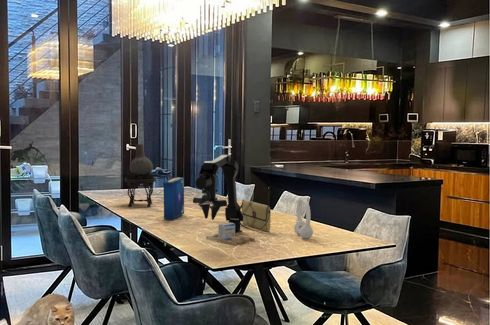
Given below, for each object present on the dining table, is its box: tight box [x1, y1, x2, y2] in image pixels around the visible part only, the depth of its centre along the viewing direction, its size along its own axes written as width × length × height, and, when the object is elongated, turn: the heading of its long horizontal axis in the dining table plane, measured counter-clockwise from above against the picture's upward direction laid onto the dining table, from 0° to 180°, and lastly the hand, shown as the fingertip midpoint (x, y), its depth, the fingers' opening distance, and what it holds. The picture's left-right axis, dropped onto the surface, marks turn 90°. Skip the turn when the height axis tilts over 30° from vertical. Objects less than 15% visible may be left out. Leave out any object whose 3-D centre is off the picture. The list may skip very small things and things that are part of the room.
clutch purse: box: [239, 199, 272, 233], centre depth 272 cm, size 30×7×15 cm, turn 32°
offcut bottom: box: [231, 240, 250, 245], centre depth 236 cm, size 7×5×2 cm
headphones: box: [293, 198, 314, 240], centre depth 252 cm, size 7×18×20 cm, turn 9°
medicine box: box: [218, 222, 236, 241], centre depth 242 cm, size 8×4×9 cm, turn 137°
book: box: [162, 176, 185, 221], centre depth 303 cm, size 22×7×25 cm, turn 168°
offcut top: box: [231, 234, 250, 243], centre depth 236 cm, size 7×5×2 cm
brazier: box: [124, 143, 157, 208], centre depth 349 cm, size 22×22×45 cm
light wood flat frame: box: [205, 232, 256, 247], centre depth 241 cm, size 14×21×2 cm, turn 47°
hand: (209, 219), depth 231 cm, fingers open, 4 cm apart
